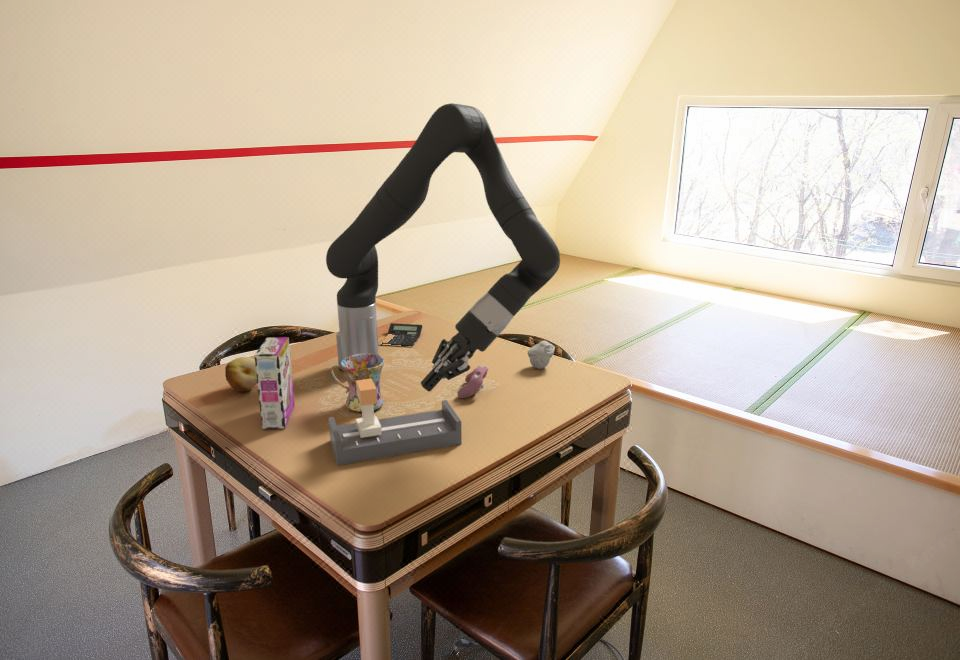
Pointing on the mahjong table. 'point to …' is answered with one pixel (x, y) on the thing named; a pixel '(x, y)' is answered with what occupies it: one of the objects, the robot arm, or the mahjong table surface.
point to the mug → (361, 377)
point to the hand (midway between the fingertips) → (424, 387)
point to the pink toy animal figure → (473, 382)
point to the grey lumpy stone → (541, 354)
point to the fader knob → (367, 409)
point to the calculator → (404, 334)
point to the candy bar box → (274, 382)
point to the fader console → (397, 435)
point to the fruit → (241, 373)
